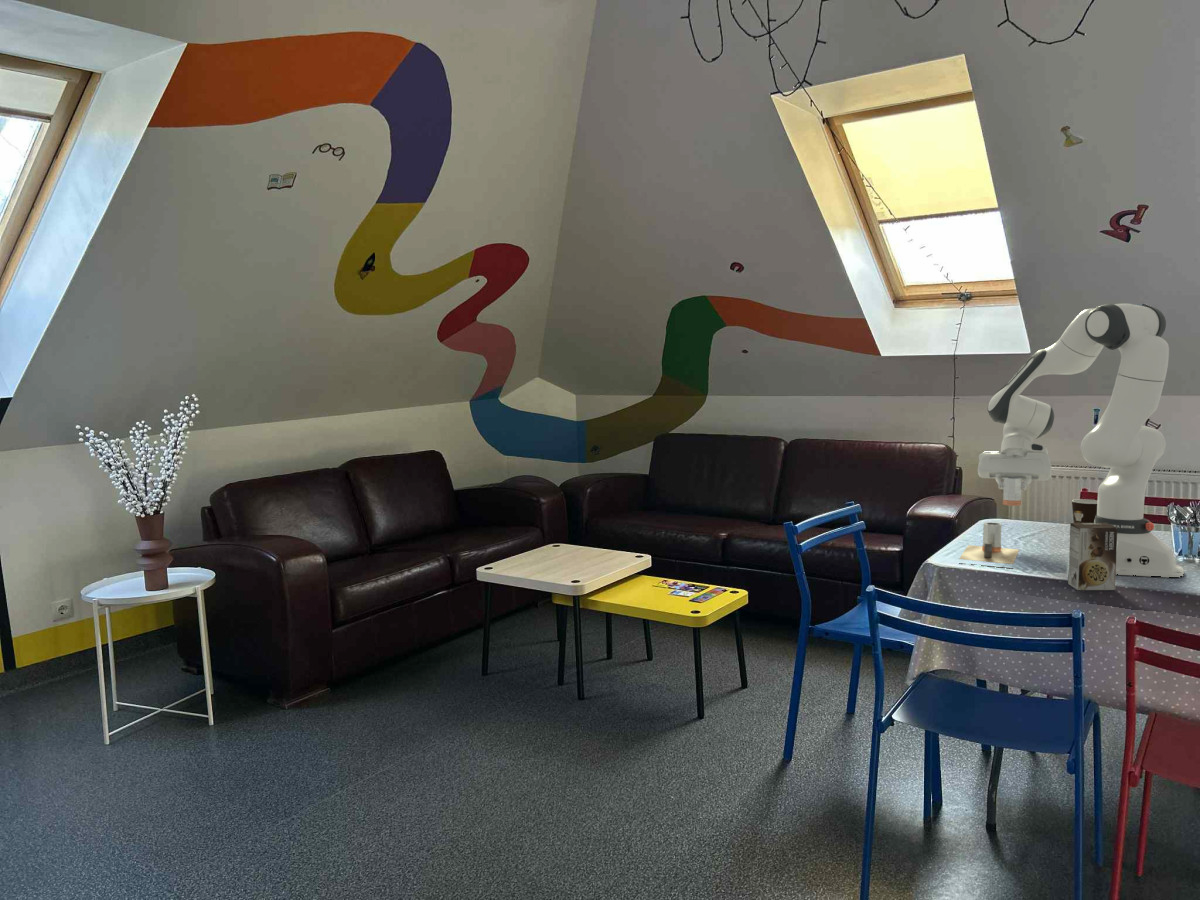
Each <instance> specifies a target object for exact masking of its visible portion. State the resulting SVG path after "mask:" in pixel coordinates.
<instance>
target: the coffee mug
mask: <svg viewBox="0 0 1200 900" xmlns="http://www.w3.org/2000/svg"><path fill="white" fill-rule="evenodd" d="M1097 501H1098V500H1095V499H1085V498H1084V499H1083V498H1080V499H1078V498H1077V499H1072V500H1071V507H1072V519H1073V523H1094V519H1095V515H1097Z"/></svg>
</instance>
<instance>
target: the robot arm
mask: <svg viewBox="0 0 1200 900" xmlns="http://www.w3.org/2000/svg"><path fill="white" fill-rule="evenodd" d="M1166 328H1167V321H1166V317H1165V315H1164V313H1163V312H1162V311H1161V310H1160V309H1157V308H1156V307H1153V306H1149V305H1139V304H1133V303H1115V304H1113V303H1105V304H1101V305H1098V306H1096V307H1094V308H1087V309H1086V308H1085V309H1084V310H1081V312H1080V313H1078V314H1077V316H1076V317H1074V319H1073V320H1072V321H1071V322H1070V323H1069V324H1068V326H1067V328H1065V330H1064V332H1063V333H1062V335H1061V336H1060V337H1059V338H1058V340H1056V342H1054V343H1053V344H1052V345H1050V346H1048V347H1046V348H1043V349H1039V350H1037V351H1036V352H1034V353H1033V354H1032V355H1031V356H1030V357H1029V358H1028V359H1027V361H1025V363H1024V364H1022V366H1021V367H1020V368H1019V369H1018V371H1016V372H1015V373H1014V375H1013V376H1011V378H1010V379H1009V380H1008V382H1006V384H1004V385H1003V387H1001V388H1000V389H998V391H997V392H995V394H994V395H993V396H992V397H991V399H990V401H989V402H988V405H987V412H988V415H989V417H990V418H991V420H992V421H993V422H995V423H1000V424H1003V427H1002V428H1003V430H1002V436H1003V437H1002V441H1001V446H1000V451H987V450H986V451H984V452H982V453H980V454H979V455H978V460H977V461H978V466H977V475H978V476H979V477H980V478H982V479H994V480H995V482H996V483H997V487H998V490H1004V481H1002V480H1004V477H1020V478H1022V481H1023V480H1025V481H1024V482H1021V491H1027V487H1028V486H1029V485H1030V484H1031V483H1032V481H1045V482H1046V481H1047V482H1048V481H1049V480H1051V479H1052V461H1051V458H1050V456H1049V450H1048V447H1047V446H1045V445H1043V444H1038V443H1035V442H1034V439H1036V440H1037V439H1039V438H1041V437H1043V436H1044V435H1046V434H1047V433H1049V432H1050V431H1051V429H1052V428H1053V425H1054V422H1055V421H1054V420H1055V413H1054V412H1055V411H1054V409H1053V407H1052V406H1051V404H1048V403H1045V402H1043V401H1040V400H1037V399H1035V398H1032V397H1031V398H1030V397H1028V396H1025V395H1021V393H1022V392H1023V391H1024V390H1026V388H1027V387H1028V386H1029V385H1030V384H1031V382H1033V380H1035V379H1036V378H1038V377H1042V376H1047V375H1049V376H1050V375H1061V376H1063V375H1065V376H1069V375H1075V374H1080V373H1082V372H1083V373H1084V372H1085V371H1086V370H1088V369H1089V368H1090V367H1091V365H1093V363H1094V362H1095V361H1096V360H1097V358H1098V357H1099V355H1100V353H1101V352H1102V350H1103V348H1104V347H1105V348H1107V349H1109V350H1110V351H1115V350H1116V349H1117V350H1118V352H1120V357H1121V358H1120V363H1119V366H1118V371H1117V375H1116V378H1115V382H1114V386H1113V389H1112V393H1111V397H1110V400H1109V402H1108V405H1107V407H1106V409H1105V410H1104V412H1103V414H1102V415H1101V417H1100V418H1099V420H1098V422H1097V423H1096V425H1095V426H1094V427H1093V429H1091V430H1090V431H1089V432H1088V433H1086V435H1084V437H1082V438H1083V439H1082V440H1081V443H1080V452H1081V455H1082V457H1083V459H1084V460H1085V461H1086V463H1088V464H1090V465H1091V466H1093V467H1099V468H1105V469H1109V470H1108V473H1107V475H1106V477H1105V479H1104V480H1103V481H1102V482H1101V483H1100V484H1099V486H1098V488H1097V500H1096V501H1097V515H1095V519H1094V523H1108V524H1111V525H1113V526H1114V527H1117V549H1116V575H1117V574H1118V575H1117V576H1133V575H1134V576H1135V575H1136V576H1137V577H1138V576H1139V577H1151V576H1161V577H1160V578H1169V577H1179V578H1181V577H1180V576H1182V577H1183V576H1184V575H1185V571H1184V568H1183V567H1182V566H1180V565H1178V564H1176V560H1175V559H1176V558H1175V554H1174V551H1173V550H1172V548H1171V547H1170V546H1169V545H1168V544H1167V543H1165V542H1163V540H1161V539H1160V538H1158V537H1157V536H1156V535H1155V534H1153V532H1152V531H1153V530H1154V529H1155V524H1154V523H1153V522H1151V520H1149V519H1147V518H1145V517H1144V514H1145V513H1144V511H1145V509H1144V508H1145V498H1146V489H1147V485H1148V482H1149V479H1150V476H1151V474H1152V472H1153V468H1154V466H1155V465H1156V463H1157V462H1158V461H1159V459H1160V458H1161V457H1162V456H1163V455H1164V453H1165V451H1166V447H1167V444H1166V443H1167V441H1166V439H1165V437H1164V434H1163V433H1162V432H1161V431H1160V430H1158V429H1157V428H1153V427H1150V426H1147V425H1145V422H1146V421H1147V420H1148V419H1149V418H1150V416H1152V415H1153V414H1154V413H1155V412H1156V411H1157V409H1158V408H1159V404H1160V400H1161V396H1162V392H1163V389H1164V386H1165V381H1166V377H1167V372H1168V367H1169V359H1170V358H1169V357H1170V346H1169V344H1168V343H1169V342H1167V340H1165V339H1164V338H1163V337H1162V336H1163V335H1164V333H1165V331H1166ZM1183 574H1184V575H1183ZM1136 576H1135V577H1136Z"/></svg>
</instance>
